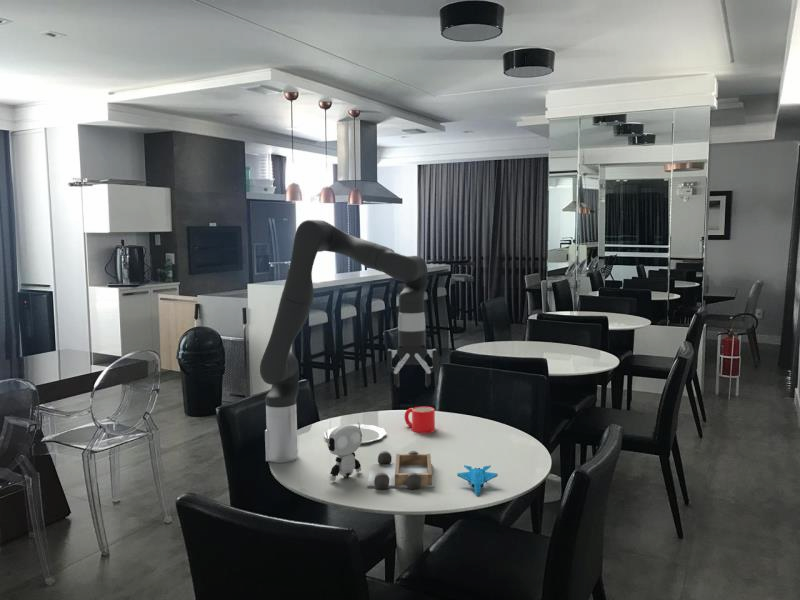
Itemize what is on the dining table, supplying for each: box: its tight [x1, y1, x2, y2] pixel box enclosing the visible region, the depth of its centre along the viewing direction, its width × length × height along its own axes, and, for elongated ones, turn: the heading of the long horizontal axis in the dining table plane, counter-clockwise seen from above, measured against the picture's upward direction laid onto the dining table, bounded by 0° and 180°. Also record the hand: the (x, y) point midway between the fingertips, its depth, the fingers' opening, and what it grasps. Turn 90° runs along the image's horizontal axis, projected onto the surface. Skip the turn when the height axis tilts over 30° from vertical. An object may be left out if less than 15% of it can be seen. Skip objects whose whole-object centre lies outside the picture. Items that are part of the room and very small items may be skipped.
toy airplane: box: [456, 464, 499, 497], centre depth 178 cm, size 12×10×4 cm
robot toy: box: [325, 421, 363, 482], centre depth 185 cm, size 12×4×15 cm, turn 135°
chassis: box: [366, 450, 435, 491], centre depth 186 cm, size 18×20×4 cm
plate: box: [323, 423, 387, 445], centre depth 224 cm, size 21×21×2 cm
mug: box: [404, 406, 436, 434], centre depth 230 cm, size 8×12×8 cm, turn 55°
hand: (412, 386), depth 184 cm, fingers open, 7 cm apart
